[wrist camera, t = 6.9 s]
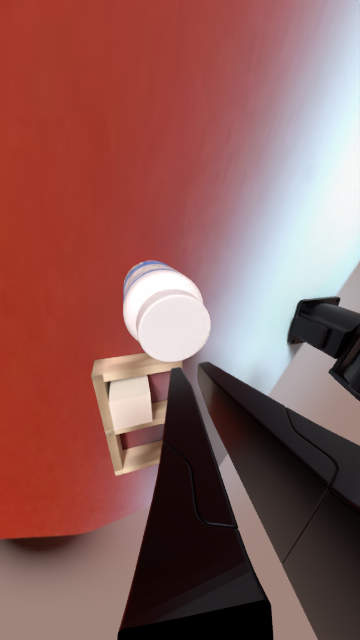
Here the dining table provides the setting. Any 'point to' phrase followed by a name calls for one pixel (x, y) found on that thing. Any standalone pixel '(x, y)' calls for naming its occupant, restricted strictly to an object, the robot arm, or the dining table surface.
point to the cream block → (130, 402)
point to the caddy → (141, 454)
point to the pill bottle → (164, 312)
